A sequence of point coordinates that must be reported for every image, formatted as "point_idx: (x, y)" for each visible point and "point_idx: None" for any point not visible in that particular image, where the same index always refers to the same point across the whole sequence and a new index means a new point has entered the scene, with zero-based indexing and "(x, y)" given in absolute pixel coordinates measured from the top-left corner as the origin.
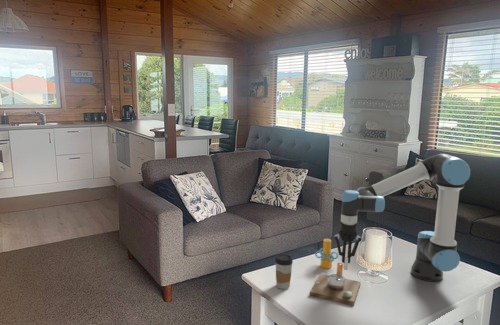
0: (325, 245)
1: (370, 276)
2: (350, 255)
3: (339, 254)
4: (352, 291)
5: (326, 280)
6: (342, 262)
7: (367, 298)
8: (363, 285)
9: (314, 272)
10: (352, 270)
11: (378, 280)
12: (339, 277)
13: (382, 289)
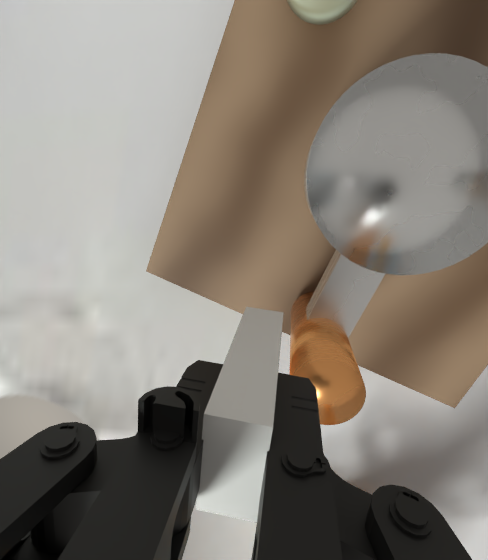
0: None
1: (70, 385)
2: (135, 448)
3: (429, 513)
4: (250, 85)
5: (438, 290)
6: (308, 380)
7: (141, 55)
8: (135, 265)
9: (458, 457)
10: None
11: (28, 334)
12: (367, 195)
13: (15, 211)
